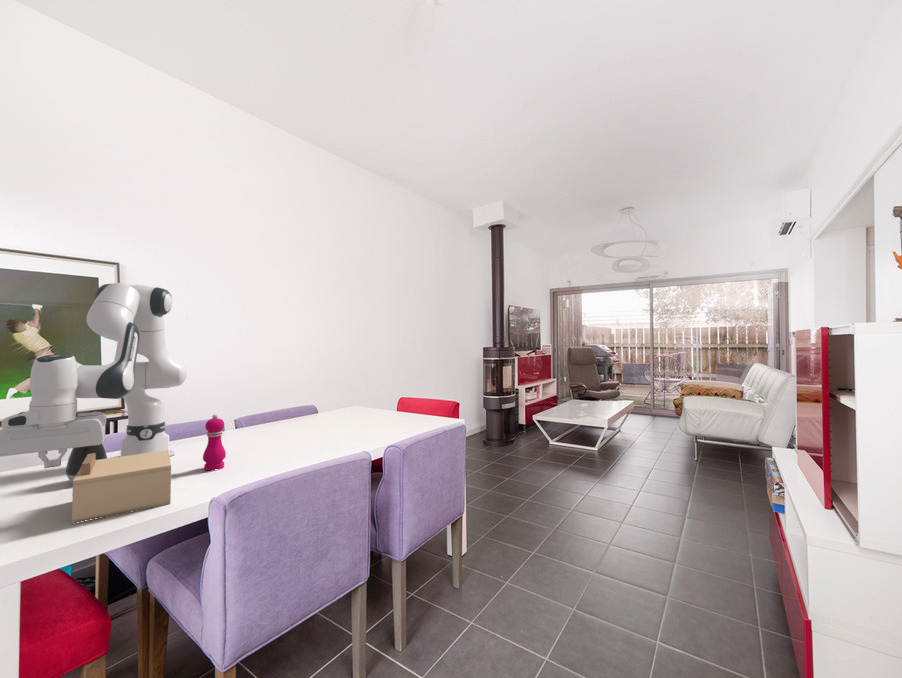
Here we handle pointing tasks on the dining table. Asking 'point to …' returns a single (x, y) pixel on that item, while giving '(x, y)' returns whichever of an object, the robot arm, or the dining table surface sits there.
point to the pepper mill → (214, 444)
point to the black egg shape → (82, 458)
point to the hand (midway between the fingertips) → (52, 466)
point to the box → (120, 495)
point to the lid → (121, 466)
